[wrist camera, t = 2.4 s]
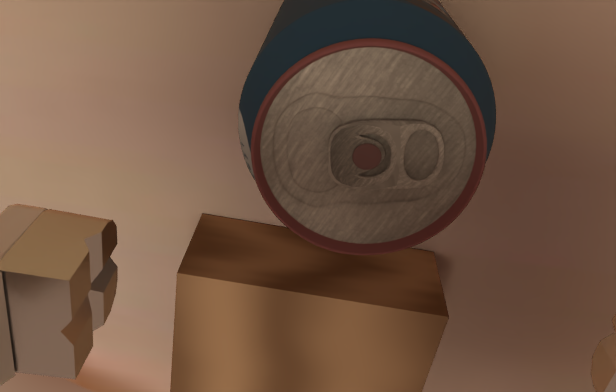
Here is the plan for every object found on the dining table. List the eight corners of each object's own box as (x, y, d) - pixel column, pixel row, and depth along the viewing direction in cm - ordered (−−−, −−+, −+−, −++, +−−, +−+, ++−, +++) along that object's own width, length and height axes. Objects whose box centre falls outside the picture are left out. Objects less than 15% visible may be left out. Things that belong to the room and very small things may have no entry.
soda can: (280, 115, 26) (238, 273, 16) (272, -48, 23) (210, 15, 12) (433, 114, 26) (494, 276, 15) (447, -52, 22) (536, 9, 12)
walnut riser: (433, 252, 29) (449, 317, 25) (382, 409, 35) (387, 484, 31) (202, 213, 29) (177, 273, 25) (189, 379, 35) (166, 450, 31)
